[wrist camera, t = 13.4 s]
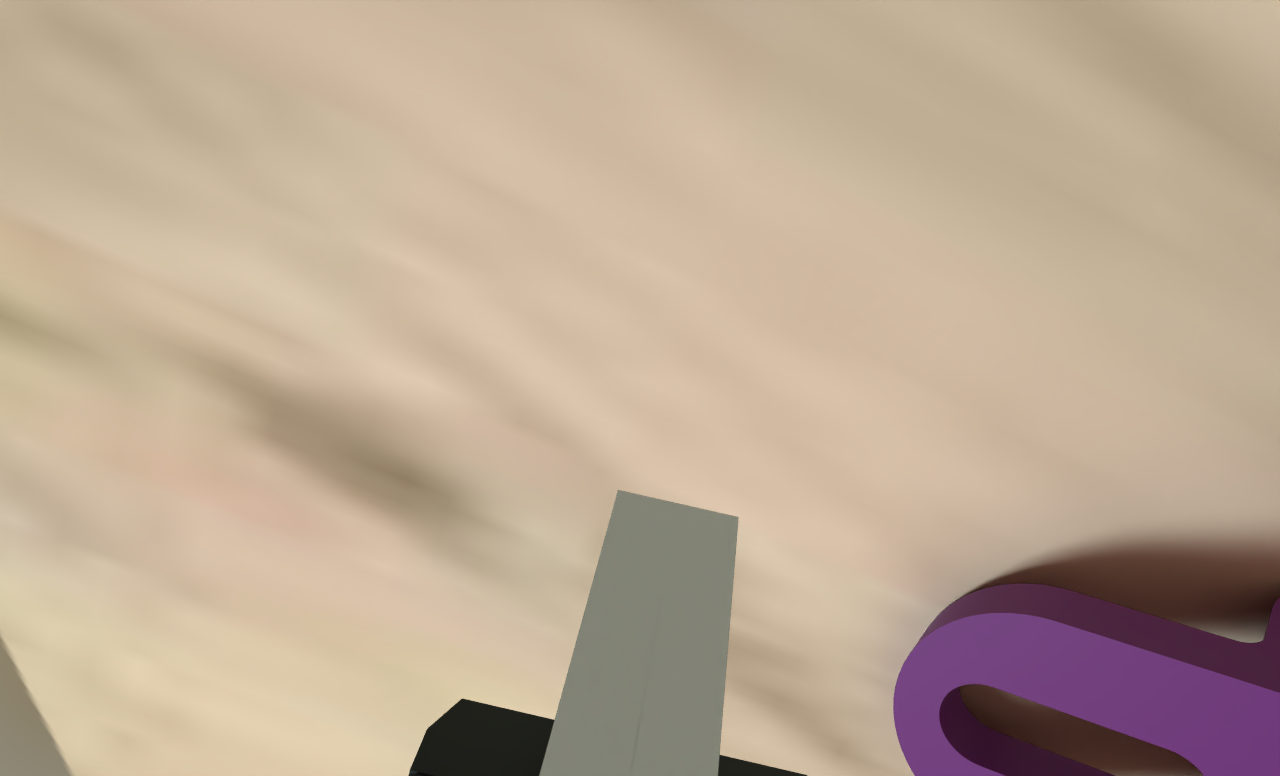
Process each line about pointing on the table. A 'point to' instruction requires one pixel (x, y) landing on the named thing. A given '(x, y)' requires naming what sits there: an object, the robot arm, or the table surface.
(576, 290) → the table surface
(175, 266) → the table surface
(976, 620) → the mounting bracket
